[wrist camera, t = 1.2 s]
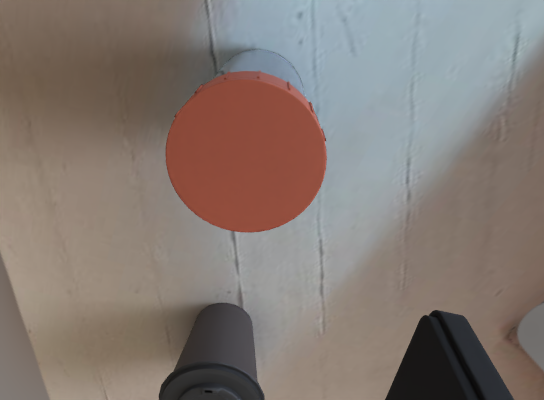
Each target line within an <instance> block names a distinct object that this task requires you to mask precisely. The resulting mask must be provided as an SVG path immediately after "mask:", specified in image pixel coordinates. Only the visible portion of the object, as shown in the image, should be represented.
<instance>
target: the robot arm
mask: <svg viewBox="0 0 544 400" xmlns="http://www.w3.org/2000/svg"><path fill="white" fill-rule="evenodd" d="M385 400H514V399H513V397H512V395H511V394H510V392H509V390H508V389H507V387H506V385H505V384H504V382H503V380H502V379H501V377H500V375H499V373H498V372H497V370H496V368H495V367H494V365H493V363H492V362H491V360H490V358H489V356H488V355H487V353H486V351H485V350H484V348H483V346H482V345H481V343H480V341H479V340H478V338H477V336H476V334H475V333H474V331H473V329H472V328H471V326H470V324H469V323H468V321H467V319H466V318H465V317H464V316H462V315H458V314H453V313H448V312H443V311H438V310H435V311H432V312H431V313H430V315H429V316H427V315H425V316H423V317H422V318H421V319H420V321H419V323H418V325H417V328H416V330H415V332H414V335H413V337H412V339H411V342H410V344H409V346H408V348H407V351H406V353H405V355H404V358H403V360H402V362H401V365H400V367H399V369H398V372H397V374H396V376H395V378H394V381H393V383H392V385H391V388H390V390H389V392H388V395H387V397H386V399H385Z"/></svg>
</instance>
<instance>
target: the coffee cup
mask: <svg viewBox="0 0 544 400" xmlns="http://www.w3.org/2000/svg"><path fill="white" fill-rule="evenodd" d="M159 400H264V394H263V392H262V390H261V387H260V385H259V383H258V382H257V371H256V360H255V349H254V338H253V327H252V321H251V319H250V317H249V315H248V314H247V313H246V312H245V311H244V310H243V309H241V308H239V307H238V306H236V305H232V304H228V303H217V304H213V305H210V306H208V307H206V308H205V309H203V310H202V311H201V312H200V314H199V315H198V316H197V319H196V321H195V323H194V326H193V328H192V330H191V332H190V335H189V337H188V339H187V342H186V344H185V346H184V349H183V351H182V353H181V355H180V358H179V360H178V362H177V365H176V367H175V369H174V372H172V373H171V374H170V375H169V376H168V377H167V378H166V380H165V381H164V382H163V384H162V385H161V389H160V393H159Z"/></svg>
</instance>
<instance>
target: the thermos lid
mask: <svg viewBox="0 0 544 400" xmlns="http://www.w3.org/2000/svg"><path fill="white" fill-rule="evenodd" d="M325 141H326V138H325V135H324V132H323V129H321V128H320V124H319V122H318V119H317V116H316V114H315V112H314V110H313V106H312V103H311V102H308V101H307V99H306V98H305V97H304V96H303V95H302V94H301V93H300V92H299V91H298V90H297V89H296V88H295V87H293V86H292V85H291V84H290V82H289V81H288V82H286V81H284V80H282V79H280V78H278V77H276V76H273V75H270V74H267V73H263V72H261V71H260V70H259V71H258V72H257V71H239V72H232V73H230V71H229V72H227V74H224V75H222V76H219V77H217V78H214V79H213V80H211V81H209V82H207V83H206V84H205V85H203V84H202V85H200V87H199V88H198V89H197V90H196V91H195V93H194V94H193V95H192V97H191V98H190V99H189V100H188V101H187V102H186V104H185V105H184V106H183V107H182V108H181V109H180V110H179V111H178V112H177V114H176V115H175V119H174V121H173V123H172V125H171V128H170V131H169V133H168V138H167V143H166V165H167V170H168V174H169V177H170V180H171V183H172V185H173V187H174V189H175V191H176V192H177V194H178V195H179V197H180V198H181V200H182V201H183V202H184V203H185V204H186V206H187V207H188V208H189V209H190V210H191V211H193V212H194V213H195V214H196V215H197V216H199V217H200V218H202V219H203V220H205V221H207V222H209V223H210V224H212V225H215V226H217V227H220V228H223V229H227V230H230V231H237V232H260V231H265V230H270V229H273V228H276V227H279V226H281V225H283V224H285V223H287V222H289V221H291V220H292V219H294V218H295V217H297V216H298V215H299V214H300V213H302V212H303V211H304V210H305V209H306V208H307V207H308V206H309V204H310V203H311V202H312V200H313V199H314V198H315V196H316V195H317V193H318V191H319V189H320V187H321V184H322V181H323V179H324V175H325V170H326V160H327V156H326V146H325Z"/></svg>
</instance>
